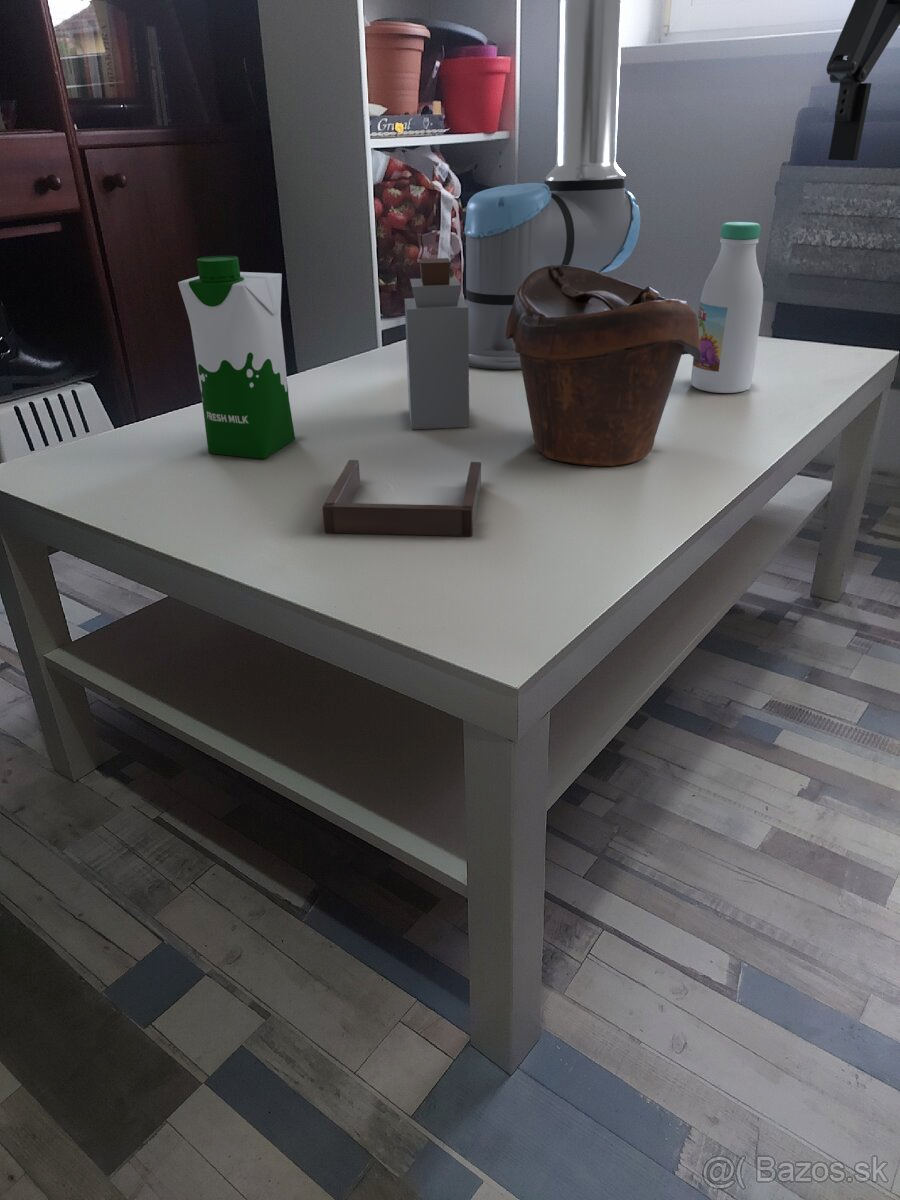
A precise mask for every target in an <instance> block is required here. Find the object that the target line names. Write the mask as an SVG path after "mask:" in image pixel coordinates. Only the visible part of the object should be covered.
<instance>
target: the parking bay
mask: <svg viewBox="0 0 900 1200" xmlns="http://www.w3.org/2000/svg"><path fill="white" fill-rule="evenodd" d="M360 485H361V472H360V461H359V459H349V460H347V462H346V465H345V466H344V468H343V469H342V472H341V473H340V475H339V477H338V478H337V480H336V481H335V484H334V485H333V488H332V489H331V491H330V492H329V494H328V496H327V498H326V500H325V501H324V503H323V505H322V507H321V509H322V518H323V519H322V520H323V529H324V533H325V534H359V535H360V534H361V535H362V534H364V535H399V536H401V535H402V536H403V535H404V536H442V537H443V536H444V537H447V536H448V537H450V536H451V537H473V534H474V528H475V523H476V516H477V512H478V511H477V510H478V506H479V499H480V493H481V487H482V462H481V461H471V462H470V463H469V469H468V474H467V479H466V484H465V488H464V492H463V497H462V502H461V505H458V504H457V505H456V504H455V505H454V504H453V505H452V504H450V505H449V504H410V503H409V504H407V503H403V504H402V503H362V502H361V503H360V502H357V503H356V502H352V501H353V499H354V497H355V495H356V493H357V491H358V489H359V488H360Z"/></svg>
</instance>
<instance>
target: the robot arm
mask: <svg viewBox="0 0 900 1200" xmlns="http://www.w3.org/2000/svg"><path fill="white" fill-rule="evenodd" d="M622 22H623V0H557V42H556V44H557V45H556V46H557V47H556V100H555V103H556V104H555V105H556V106H555V162H554V163H555V164H554V166H553V168H552V169H551V170H550V171H549V173H548V174H547V175H546V176H545V177H544V183H542V182H523V183H522V182H521V183H515V184H506V185H499V186H496V187H491V188H486V189H484V190H481V191H478V192H476V193H475V194H473V195H472V196H471V197H470V198H469V200H468V201H467V204H466V211H465V214H466V215H465V224H464V234H465V265H466V267H465V275H466V276H465V277H466V278H465V282H466V283H465V284H466V286H465V287H466V290H465V292H466V296H465V297H466V300H465V302H466V304H467V306H468V321H469V367H474V368H479V369H488V370H522V369H521V363H520V357H519V353H516V351H515V344H514V341H513V338H509V339H507V338H506V329H507V321H508V318H509V315H510V312H511V308H512V305H513V302H514V298H515V295H516V292H517V289H518V288H519V286H520V285H521V284H522V283H523V281H524V280H525V279H526V278H527V277H528V276H529V275H530V274H531V273H532V272H534V271H536V270H537V269H539V268H542V267H545V266H550V265H570V266H575V267H580V268H584V269H588V270H592V271H595V272H598V273H600V274H602V273H606V272H607V273H608V272H611V271H614V270H616V269H617V268H619V267H621V266H622V265H623V264H624V263H625V261H626V260H627V259H629V257H630V256H631V255H632V253H633V252H634V250H635V247H636V245H637V242H638V240H639V235H640V232H641V231H640V229H641V211H640V208H639V205H638V204H636V202H637V199H636V197H635V196H634V194H633V193H632V192H630V191H629V190H627V189H626V177H627V175H626V174H625V173H624V172H623V170H622V169H621V168H620V167H619V165H618V164H617V162H616V160H617V136H618V116H619V115H618V114H619V95H620V93H619V92H620V69H621V68H620V67H621V45H622V26H623V25H622V24H623V23H622ZM899 26H900V0H854V1H853V4H852V7H851V9H850V11H849V13H848V15H847V18H846V21H845V23H844V25H843V27H842V30H841V32H840V34H839V37H838V39H837V41H836V44H835V46H834V48H833V51H832V52H831V55H830V57H829V60H828V62H827V63H826V64H827V65H826V73H827V75H828V76H829V82H830V83H832V84H839V87H838V88H839V89H838V94H837V100H836V106H835V110H834V123H833V129H832V134H831V135H832V136H831V140H830V147H829V152H828V158H827V160H829V161H852V162H853V161H858V157H859V153H860V149H861V148H860V147H861V141H862V137H863V131H864V125H865V121H866V115H867V112H868V111H867V110H868V105H869V100H870V94H871V89H872V82H865V81H866V80H867V78H868V76H869V74H870V73H871V72H872V70H873V68H874V67H875V65H876V64H877V62H878V60H879V59H880V57H881V56H882V55H883V52H884V51H885V49H886V47H887V46H888V45H889V43H890V41H891V39H892V38H893V36H894V35H895V33H896V32H897V30H898V29H899ZM845 57H846V58H845Z"/></svg>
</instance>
